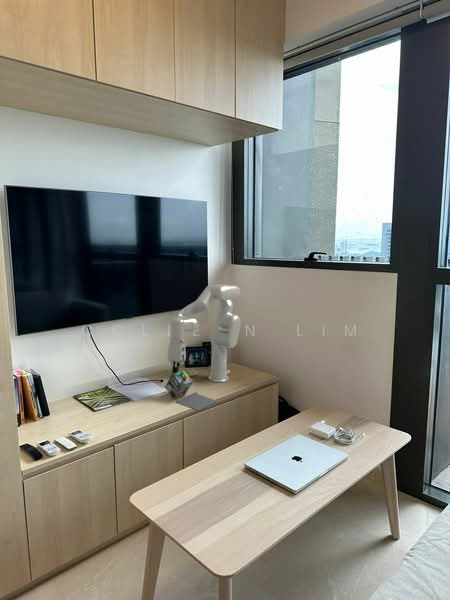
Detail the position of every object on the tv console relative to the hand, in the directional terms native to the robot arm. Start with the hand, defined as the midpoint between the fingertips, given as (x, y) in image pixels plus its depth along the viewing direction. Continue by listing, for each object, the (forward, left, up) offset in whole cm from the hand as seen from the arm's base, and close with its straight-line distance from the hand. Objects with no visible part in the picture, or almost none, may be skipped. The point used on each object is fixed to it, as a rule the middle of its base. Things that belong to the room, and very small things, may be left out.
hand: (175, 373), depth 222 cm
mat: (-2, +15, -13) cm, 20 cm away
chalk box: (-1, -1, -11) cm, 11 cm away
